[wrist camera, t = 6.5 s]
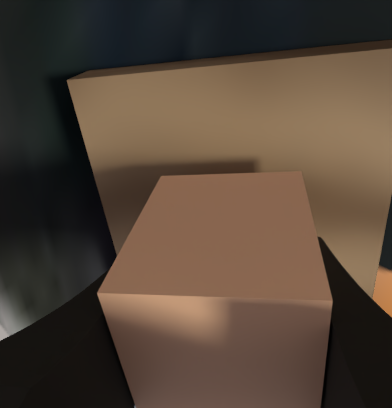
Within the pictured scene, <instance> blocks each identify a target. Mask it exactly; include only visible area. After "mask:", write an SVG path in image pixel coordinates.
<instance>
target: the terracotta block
mask: <svg viewBox="0 0 392 408" xmlns="http://www.w3.org/2000/svg"><path fill="white" fill-rule="evenodd" d="M97 295H98V298H99V300H100V303H101V306H102V309H103V312H104V315H105V318H106V321H107V324H108V327H109V330H110V333H111V336H112V339H113V342H114V345H115V347H116V350H117V353H118V356H119V359H120V362H121V365H122V368H123V371H124V374H125V377H126V380H127V383H128V386H129V389H130V392H131V394H132V397H133V400H134V403H135V406H136V408H321V399H322V390H323V382H324V373H325V364H326V355H327V347H328V338H329V329H330V320H331V312H332V303H333V300H332V296H331V292H330V287H329V283H328V279H327V275H326V271H325V267H324V263H323V258H322V254H321V250H320V246H319V242H318V238H317V234H316V229H315V225H314V221H313V217H312V213H311V209H310V205H309V200H308V196H307V192H306V188H305V184H304V180H303V176H302V171H292V172H262V173H233V174H204V175H175V176H161V177H160V179H159V181H158V183H157V184H156V186H155V188H154V190H153V192H152V193H151V195H150V197H149V199H148V201H147V203H146V204H145V206H144V208H143V210H142V212H141V214H140V215H139V217H138V219H137V221H136V223H135V225H134V226H133V228H132V230H131V232H130V234H129V235H128V237H127V239H126V241H125V243H124V245H123V246H122V248H121V250H120V252H119V254H118V256H117V257H116V259H115V261H114V263H113V265H112V267H111V268H110V270H109V272H108V274H107V276H106V278H105V279H104V281H103V283H102V285H101V287H100V288H99V290H98V292H97Z"/></svg>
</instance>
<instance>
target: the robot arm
mask: <svg viewBox="0 0 392 408" xmlns="http://www.w3.org/2000/svg"><path fill="white" fill-rule="evenodd" d="M317 238H318V242H319V246H320V250H321V254H322V258H323V263H324V267H325V271H326V275H327V279H328V283H329V287H330V292H331V296H332V300H333V303H332V312H331V320H330V329H329V338H328V347H327V355H326V364H325V373H324V382H323V390H322V399H321V408H392V317H390V316H389V315H388V314H387V313H386V312H385V311H384V310H383V309H382V308H381V307H380V306H379V305H378V304H377V303H376V302H374V300H373V299H372V298H371V297H370V296H369V295H368V294H367V293H366V292H365V291H364V290H363V289H362V288H361V287H360V286H359V285H358V284H357V282H356V281H355V280H354V279H353V278H352V277H351V275H350V274H349V273H348V272H347V271H346V270H345V268H344V267H343V266H342V265H341V263H340V262H339V261H338V259H337V258H336V257H335V256H334V254H333V253H332V251H331V250H330V249H329V247H328V246H327V244H326V243H325V241H324V240H323V239H322V238H321V237H317ZM109 270H110V269H109ZM109 270H108V271H106V272H105V273H104V274H103V275H102V276H100V277H99V278H98V279H97V280H96V281H94V282H93V283H92V284H91V285H90V286H88V287H87V288H86V289H85V290H83V291H82V292H81V293H79V294H78V295H77V296H75V297H74V298H72V299H71V300H70V301H68V302H67V303H65V304H64V305H62V306H61V307H59V308H58V309H56V310H55V311H53V312H51V313H50V314H48V315H46V316H45V317H43V318H41V319H40V320H38V321H36V322H35V323H33V324H32V325H30V326H28V327H26V328H24V329H22V330H21V331H19V332H17V333H15V334H13V335H11V336H9V337H7V338H5V339H3V340H1V341H0V408H133V405H134V400H133V397H132V394H131V392H130V389H129V386H128V383H127V380H126V377H125V374H124V371H123V368H122V365H121V362H120V359H119V356H118V353H117V350H116V347H115V345H114V342H113V339H112V336H111V333H110V330H109V327H108V324H107V321H106V318H105V315H104V312H103V309H102V306H101V303H100V300H99V298H98V295H97V292H98V290H99V288H100V287H101V285H102V283H103V281H104V279H105V278H106V276H107V274H108V272H109ZM134 408H136V406H134Z"/></svg>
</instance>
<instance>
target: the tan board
mask: <svg viewBox="0 0 392 408" xmlns="http://www.w3.org/2000/svg"><path fill="white" fill-rule="evenodd" d="M67 83H68V87H69V90H70V94H71V97H72V101H73V104H74V108H75V111H76V115H77V118H78V122H79V125H80V129H81V132H82V136H83V139H84V143H85V146H86V150H87V153H88V157H89V160H90V164H91V167H92V170H93V174H94V177H95V181H96V184H97V188H98V191H99V195H100V198H101V202H102V205H103V209H104V212H105V216H106V219H107V223H108V226H109V230H110V233H111V237H112V240H113V244H114V247H115V251H116V254H117V256H118V254H119V252H120V250H121V248H122V246H123V245H124V243H125V241H126V239H127V237H128V235H129V234H130V232H131V230H132V228H133V226H134V225H135V223H136V221H137V219H138V217H139V215H140V214H141V212H142V210H143V208H144V206H145V204H146V203H147V201H148V199H149V197H150V195H151V193H152V192H153V190H154V188H155V186H156V184H157V183H158V181H159V179H160V177H161V176H175V175H204V174H233V173H262V172H292V171H302V176H303V180H304V184H305V188H306V192H307V196H308V200H309V205H310V209H311V213H312V217H313V221H314V225H315V229H316V234H317V237H321V238H322V239H323V240H324V241H325V243H326V244H327V246H328V247H329V249H330V250H331V251H332V253H333V254H334V256H335V257H336V258H337V259H338V261H339V262H340V263H341V265H342V266H343V267H344V268H345V270H346V271H347V272H348V273H349V274H350V275H351V277H352V278H353V279H354V280H355V281H356V282H357V284H358V285H359V286H360V287H361V288H362V289H363V290H364V291H365V292H366V293H367V294H368V295H369V296H370V297H371V298H372V297H373V292H374V287H375V281H376V275H377V270H378V265H379V259H380V254H381V249H382V243H383V238H384V232H385V227H386V222H387V216H388V211H389V205H390V200H391V195H392V40H383V41H373V42H363V43H353V44H343V45H334V46H324V47H314V48H304V49H294V50H285V51H275V52H265V53H255V54H246V55H236V56H226V57H216V58H206V59H197V60H187V61H177V62H167V63H158V64H148V65H138V66H128V67H118V68H109V69H99V70H89V71H87V72H84V73H82V74H80V75H77V76H75V77H73V78H70V79H68V80H67Z"/></svg>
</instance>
